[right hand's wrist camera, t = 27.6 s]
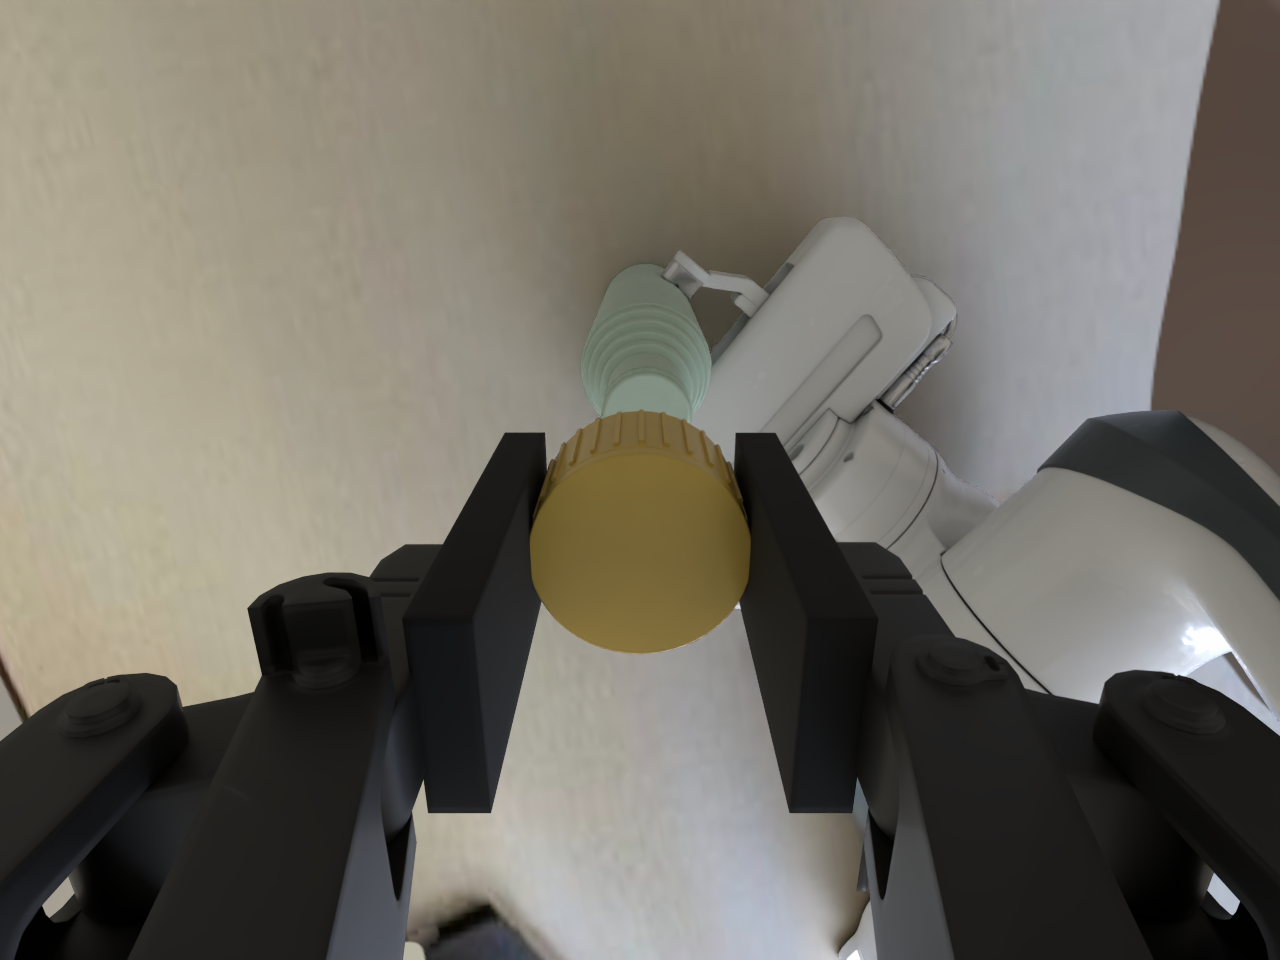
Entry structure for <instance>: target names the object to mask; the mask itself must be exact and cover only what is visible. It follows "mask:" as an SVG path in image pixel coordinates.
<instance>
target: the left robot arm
mask: <svg viewBox="0 0 1280 960" xmlns="http://www.w3.org/2000/svg"><path fill="white" fill-rule="evenodd" d="M661 274H662V276H663V277H664V278H665V279H666V280H668V281H669V282H670V283H672V284H674V285H678V287H679V289H680V290H681V291H682V293H683V294H685V295H686V296H687V297H688V298H691V297H692V296H693V295H694V294H695V292H696V291H697V290H698V289H699V288H700V286H702V287H708V288H714V289H721V290H727V291H733V293H732V294H731V295H730V299H731V300H732V301H733V302H734V304H735V305H737V306H738V307H739V308H740V309H741V310H742V311H744V312H743V314H742V315H741V316H740V317H739V318H738V320H737V321H736V322H735V323H734V324H733V326H732V327H731V328H730V329H729V331H728V332H727V333H726V334H725V335H724V337H723V338H722V339H721V340H720V341H719V343H718V344H717V345H716V346H715V347H714V349H713V350H712V351H711V352H710V355H711V363H712V370H711V379H710V383H709V386H708V389H707V393H706V395H705V397H704V400H703V401H702V403H701V405H700V406H699V408H698V409H697V410H696V412H695V413H694V414H693V417H692V423H691V425H693V426H694V427H696V428H697V429H699V430H700V431H701V430H704V431H705V433H706V436H707V437H709V438H710V440H711V441H712V442H713V443H714V444H715V445H717V444H718V445H719V446H720V447H721V451H722V454H723V456H724V458H725V460H726V461H727V462H728V461H730V463H731V465H732V468H733V471H734V455H735V434H736V433H776V435H777V436H778V438H779V440H780V442H781V444H782V445H783V447H784V449H785V451H786V453H787V454H788V456H789V458H790V460H791V462H792V463H793V465H794V467H795V469H796V471H797V472H798V474H799V476H800V478H801V479H802V481H803V483H804V485H805V487H806V488H807V490H808V492H809V494H810V496H811V497H812V499H813V501H814V503H815V505H816V506H817V508H818V510H819V512H820V514H821V515H822V517H823V519H824V521H825V523H826V524H827V526H828V528H829V530H830V532H831V533H832V535H833V537H834V539H835V541H836V542H876V543H878V544H879V545H881V546H882V547H884V548H885V549H887V550H889V551H890V552H892V553H893V554H895V555H896V556H898V557H900V559H901V560H902V562H903V563H904V564H905V566H906V567H907V569H908V570H909V572H910V573H911V574H912V579H915V580H916V581H917V583H918V584H919V586H920V587H921V589H922V590H923V595H926V596H927V597H928V598H929V600H930V601H931V603H932V604H933V606H934V607H935V608H936V610H937V611H938V613H939V614H940V615H941V617H942V618H943V620H944V621H945V623H946V624H947V625H948V627H949V628H950V630H951V631H952V633H953V634H954V635H955V637H958V638H963V639H967V640H969V641H972V642H974V643H977V644H980V645H982V646H985V647H987V648H989V649H991V650H992V651H994V652H995V653H997V654H998V655H1000V656H1001V657H1003V658H1004V659H1006V660H1007V661H1008V662H1009V664H1010V665H1011V666H1012V667H1013V669H1014V670H1015V671H1016V672H1017V674H1018V675H1019V677H1020V680H1021V682H1022V684H1023V686H1024V688H1026V689H1030V690H1034V691H1038V692H1042V693H1046V694H1051V695H1056V696H1061V697H1066V698H1071V699H1076V700H1081V701H1087V702H1092V703H1097V704H1099V701H1100V698H1101V694H1102V690H1103V687H1104V683H1105V682H1106V681H1107V680H1108V679H1109V678H1110V677H1112V676H1113V675H1114V674H1115V673H1119V672H1125V671H1130V670H1147V671H1162V672H1168V673H1173V674H1174V675H1176V676H1178V675H1181V676H1184V677H1185V676H1187V675H1188V674H1190V673H1191V672H1193V671H1194V670H1195V669H1197V668H1198V667H1200V666H1201V665H1203V664H1204V663H1206V662H1208V661H1210V660H1212V659H1214V658H1216V657H1218V656H1220V655H1222V654H1225V653H1228V652H1231V651H1232V653H1233V654H1234V656H1235V657H1236V659H1237V660H1238V662H1239V663H1240V665H1241V666H1242V668H1243V669H1244V671H1245V672H1246V674H1247V675H1248V677H1249V678H1250V680H1251V681H1252V683H1253V684H1254V686H1255V687H1256V689H1257V690H1258V692H1259V693H1260V695H1261V696H1262V698H1263V699H1264V701H1265V702H1266V704H1267V706H1268V707H1269V709H1270V710H1271V712H1272V713H1273V715H1274V716H1275V718H1276V719H1277V721H1278V722H1279V724H1280V477H1279V476H1278V475H1277V474H1276V473H1275V472H1274V471H1273V470H1272V469H1271V468H1270V466H1268V465H1267V464H1266V463H1265V462H1264V461H1263V460H1262V459H1261V458H1259V457H1258V456H1257V455H1256V454H1255V453H1254V452H1252V451H1251V450H1250V449H1249V448H1247V447H1246V446H1245V445H1243V444H1242V443H1240V442H1239V441H1238V440H1236V439H1235V438H1233V437H1231V436H1230V435H1228V434H1227V433H1225V432H1223V431H1222V430H1220V429H1218V428H1216V427H1214V426H1212V425H1210V424H1208V423H1206V422H1203V421H1200V420H1198V419H1195V418H1191V417H1188V416H1185V415H1183V414H1182V413H1181V412H1180V411H1140V412H1129V413H1121V414H1113V415H1106V416H1101V417H1095V418H1089V419H1087V420H1086V421H1085V422H1084V423H1083V424H1082V425H1081V426H1080V427H1079V428H1078V429H1077V430H1076V431H1075V432H1074V433H1073V434H1072V435H1071V436H1070V437H1069V438H1068V439H1067V440H1066V441H1065V442H1064V443H1063V444H1062V445H1061V446H1060V447H1059V448H1058V449H1057V450H1056V451H1055V452H1054V453H1053V454H1052V455H1051V456H1050V457H1049V458H1048V459H1047V460H1046V461H1045V462H1044V463H1043V464H1042V465H1041V466H1040V468H1039V469H1038V470H1037V474H1036V475H1035V476H1034V477H1032V478H1031V479H1030V480H1029V481H1028V482H1027V483H1026V484H1024V485H1023V486H1022V487H1021V488H1020V489H1019V490H1017V491H1016V492H1015V493H1014V494H1013V495H1012V496H1010V497H1009V498H1008V499H1007V500H1006V501H1005V502H1003V503H1002V504H999V503H998V502H997V501H996V500H995V499H994V498H992V497H991V496H990V495H989V494H988V493H986V492H985V491H983V490H982V489H980V488H978V487H976V486H974V485H971V484H969V483H966V482H964V481H962V480H960V479H958V478H957V477H956V476H955V475H953V474H952V473H951V471H950V470H949V469H948V467H947V466H946V464H945V462H944V461H943V459H942V457H941V456H940V455H939V453H938V452H937V451H936V450H935V449H934V448H933V447H932V446H931V445H929V444H928V443H927V442H926V441H925V440H924V439H922V438H921V437H920V436H919V435H918V434H916V433H915V432H914V431H913V430H912V429H910V428H909V427H908V426H907V425H906V424H905V423H903V422H902V421H901V420H900V419H898V418H897V417H896V416H895V415H894V414H893V411H894V410H895V409H896V408H897V407H898V406H899V405H900V403H901V402H902V401H903V400H904V399H905V398H906V397H907V396H908V395H909V394H910V393H911V391H912V390H913V389H914V388H915V387H916V386H917V383H919V382H920V379H922V377H923V376H924V375H925V374H926V373H927V371H928V370H929V369H930V368H931V367H932V366H933V365H934V364H935V365H936V364H937V363H938V362H940V361H941V360H942V359H943V357H944V356H945V355H946V354H947V353H948V351H949V350H950V348H951V346H952V345H953V343H952V342H951V341H950V338H951V337H952V335H953V333H954V331H955V328H956V325H957V310H956V307H955V304H954V302H953V301H952V299H951V298H950V297H949V296H948V295H947V294H946V293H945V292H944V291H943V290H942V289H941V288H939V287H938V286H937V285H936V284H935V283H934V282H933V281H932V280H930V279H929V278H927V277H925V276H922V275H917V274H909V273H908V272H907V271H906V269H905V268H904V267H903V266H902V264H901V263H900V262H899V261H898V259H897V258H896V257H895V256H894V255H893V253H892V252H891V251H890V250H889V249H888V248H887V247H886V246H885V244H884V243H883V242H882V241H881V240H880V239H879V238H878V237H877V236H876V235H875V234H874V233H873V232H872V231H871V230H870V229H869V228H868V227H867V226H866V225H865V224H864V223H862V222H861V221H859V220H858V219H855V218H853V217H847V216H839V217H830V218H824V219H822V220H820V221H819V222H818V223H817V224H816V225H815V226H814V227H813V229H812V230H811V231H810V232H809V234H808V235H807V236H806V237H805V238H804V240H803V241H802V242H801V243H800V244H799V246H798V247H797V248H796V249H795V251H794V252H793V253H792V254H791V255H790V257H789V258H788V259H787V260H786V261H785V263H784V264H783V265H782V266H781V267H780V269H779V270H778V271H777V272H776V274H775V275H774V276H773V277H772V278H771V280H770V281H769V282H768V283H767V284H766V286H765V287H764V288H763V289H762V288H761V287H760V286H759V285H757V284H756V283H755V282H754V281H753V280H751V279H750V278H749V277H747V276H746V275H740V274H733V273H726V272H720V271H713V270H708V271H707V272H706V271H705V270H704V269H703V268H702V267H700V266H699V265H698V264H697V263H696V262H694V261H693V260H692V259H691V258H690V257H688V256H687V255H686V254H685V253H684V252H682V251H681V250H680V249H679V251H678V252H677V253H676V255H675V256H674V257H673V258H672V260H671V261H670V262H669V264H668V265H667V266H666V268H665V269H664V271H663V272H662V273H661ZM947 324H948V325H947ZM946 326H947V328H946V331H945V332H944V334H941V333H940V332H941V331H942V330H943V329H944V328H945V327H946ZM876 397H877V398H878V399H875V398H876ZM735 609H741V608H740V603H739V602H738V604H737V605H736V607H735ZM838 958H839V960H877V952H876V944H875V935H874V927H873V918H872V909H871V901H869V903H868V904H867V906H866V908H865V910H864V912H863V915H862V918H861V921H860V924H859V927H858V929H857V931H856V933H855V934H854V935H853V936H852V937H851V938H850V939H849V940H848V941H847V942H846V944H845V945H844V946H843V947H842V948H841V950H840V952H839V954H838Z"/></svg>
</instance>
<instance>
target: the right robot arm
mask: <svg viewBox="0 0 1280 960" xmlns="http://www.w3.org/2000/svg"><path fill="white" fill-rule="evenodd" d="M546 473H547V465H546V445H545V433H505V434H504V435H503V437H502V439H501V441H500V443H499V444H498V446H497V448H496V450H495V452H494V453H493V455H492V457H491V459H490V461H489V462H488V464H487V466H486V468H485V470H484V471H483V473H482V475H481V477H480V479H479V480H478V482H477V484H476V486H475V488H474V489H473V491H472V493H471V495H470V497H469V498H468V500H467V502H466V504H465V506H464V507H463V509H462V511H461V513H460V515H459V516H458V518H457V520H456V522H455V524H454V525H453V527H452V529H451V531H450V533H449V534H448V536H447V538H446V540H445V542H444V543H443V544H405V545H404V546H402V547H401V548H399V549H398V550H396V551H395V552H393V553H391V554H390V555H388V556H387V557H385V558H384V559H382V560H381V561H380V562H379V564H378V565H377V567H376V568H375V570H374V571H373V573H372V574H371V575H370V577H366V576H362V575H358V574H354V573H322V574H316V575H310V576H304V577H301V578H298V579H295V580H292V581H289V582H286V583H283V584H280V585H278V586H276V587H274V588H272V589H271V590H269V591H267V592H265V593H263V594H262V595H260V596H259V597H258V598H257V599H256V600H255V601H254V602H253V603H252V604H251V605H250V606H249V607H248V608H247V609H248V613H249V618H250V623H251V627H252V632H253V636H254V641H255V645H256V650H257V654H258V659H259V663H260V668H261V672H262V677H261V679H260V681H259V683H258V685H257V687H256V689H255V691H254V692H252V693H248V694H244V695H240V696H236V697H231V698H226V699H221V700H216V701H211V702H206V703H201V704H196V705H191V706H185V707H182V703H181V699H180V696H179V692H178V688H177V685H175V684H174V683H173V682H172V681H171V680H169V679H168V678H167V677H166V676H160V675H155V674H149V673H139V674H127V675H116V676H111V677H107V679H104V678H102V679H99V680H96V681H92V682H89V683H87V684H86V685H84V686H82V687H80V688H78V689H75V690H73V691H71V692H68V693H66V694H64V695H62V696H60V697H59V698H57V699H56V700H54V701H53V702H51V703H50V704H48V705H46V706H45V707H43V708H42V709H40V710H39V711H37V712H36V713H35V714H34V715H32V716H31V717H30V718H29V719H27V720H26V721H25V722H24V723H23V724H21V725H20V726H19V727H18V728H16V729H15V730H14V731H13V732H11V733H10V734H9V735H8V736H6V737H5V738H4V739H3V740H1V741H0V960H403V954H404V946H405V937H406V928H407V920H408V911H409V902H410V894H411V885H412V877H413V868H414V859H415V851H416V836H415V829H414V822H413V815H412V809H413V806H414V804H415V801H416V798H417V796H418V793H419V790H420V787H421V785H422V782H423V779H424V786H425V793H426V800H427V808H428V813H491V810H492V806H493V802H494V798H495V794H496V789H497V785H498V781H499V777H500V773H501V769H502V764H503V760H504V756H505V752H506V748H507V743H508V739H509V735H510V731H511V727H512V723H513V718H514V714H515V710H516V706H517V702H518V697H519V693H520V689H521V685H522V681H523V676H524V672H525V668H526V664H527V660H528V656H529V651H530V647H531V643H532V639H533V635H534V630H535V626H536V622H537V618H538V614H539V610H540V605H541V599H540V598H539V596H538V594H537V592H536V589H535V587H534V585H533V581H532V573H531V557H530V531H531V528H532V524H533V514H534V511H535V508H536V505H537V502H538V497H539V494H540V491H541V488H542V485H543V482H544V479H545V476H546ZM734 474H735V477H736V480H737V483H738V486H739V489H740V492H741V495H742V498H743V502H742V503H743V506H744V509H745V512H746V515H747V518H748V526H749V529H750V533H751V548H750V565H749V579H748V583H747V586H746V588H745V591H744V593H743V595H742V597H741V598H740V600H739V603H740V608H741V612H742V616H743V620H744V624H745V628H746V633H747V637H748V641H749V645H750V649H751V654H752V658H753V662H754V666H755V670H756V674H757V679H758V683H759V687H760V691H761V695H762V700H763V704H764V708H765V712H766V716H767V720H768V725H769V729H770V733H771V737H772V741H773V746H774V750H775V754H776V758H777V762H778V766H779V771H780V775H781V779H782V783H783V787H784V792H785V796H786V800H787V804H788V808H789V812H790V813H852V811H853V804H854V797H855V789H856V782H857V777H858V780H859V782H860V785H861V788H862V790H863V793H864V796H865V798H866V801H867V804H868V807H869V808H868V815H867V822H866V829H865V836H864V843H863V850H862V857H861V864H860V871H859V877H858V884H857V891H861V892H867V886H868V884H869V892H870V901H871V909H872V918H873V927H874V935H875V944H876V952H877V960H1280V736H1279V735H1278V734H1277V733H1275V732H1274V731H1273V730H1272V729H1270V728H1269V727H1268V726H1267V725H1265V724H1264V723H1263V722H1262V721H1260V720H1259V719H1258V718H1256V717H1255V716H1254V715H1253V714H1251V713H1250V712H1249V711H1248V710H1246V709H1245V708H1244V707H1243V706H1241V705H1239V704H1238V703H1236V702H1235V701H1233V700H1232V699H1230V698H1228V697H1227V696H1225V695H1224V694H1222V693H1221V692H1219V691H1217V690H1215V689H1212V688H1210V687H1207V686H1205V685H1203V684H1200V683H1198V682H1197V681H1195V680H1193V679H1191V678H1188V677H1184V676H1181V675H1178V676H1176V675H1174V674H1173V673H1168V672H1162V671H1147V670H1130V671H1125V672H1119V673H1115V674H1114V675H1113V676H1112V677H1110V678H1109V679H1108V680H1107V681H1106V682H1105V683H1104V687H1103V690H1102V694H1101V698H1100V701H1099V704H1097V703H1092V702H1087V701H1081V700H1076V699H1071V698H1066V697H1061V696H1056V695H1051V694H1046V693H1042V692H1038V691H1034V690H1030V689H1026V688H1024V686H1023V684H1022V682H1021V680H1020V677H1019V675H1018V674H1017V672H1016V671H1015V670H1014V669H1013V667H1012V666H1011V665H1010V664H1009V662H1008V661H1007V660H1006V659H1004V658H1003V657H1001V656H1000V655H998V654H997V653H995V652H994V651H992V650H991V649H989V648H987V647H985V646H982V645H980V644H977V643H974V642H972V641H969V640H967V639H963V638H958V637H955V635H954V634H953V633H952V631H951V630H950V628H949V627H948V625H947V624H946V623H945V621H944V620H943V618H942V617H941V615H940V614H939V613H938V611H937V610H936V608H935V607H934V606H933V604H932V603H931V601H930V600H929V598H928V597H927V596H926V595H923V590H922V589H921V587H920V586H919V584H918V583H917V581H916V580H915V579H912V574H911V573H910V572H909V570H908V569H907V567H906V566H905V564H904V563H903V562H902V560H901V559H900V557H898V556H896V555H895V554H893V553H892V552H890V551H889V550H887V549H885V548H884V547H882V546H881V545H879V544H878V543H876V542H836V541H835V539H834V537H833V535H832V533H831V532H830V530H829V528H828V526H827V524H826V523H825V521H824V519H823V517H822V515H821V514H820V512H819V510H818V508H817V506H816V505H815V503H814V501H813V499H812V497H811V496H810V494H809V492H808V490H807V488H806V487H805V485H804V483H803V481H802V479H801V478H800V476H799V474H798V472H797V471H796V469H795V467H794V465H793V463H792V462H791V460H790V458H789V456H788V454H787V453H786V451H785V449H784V447H783V445H782V444H781V442H780V440H779V438H778V436H777V435H776V433H736V434H735V455H734ZM1213 873H1215V874H1216V875H1217V876H1218V877H1219V878H1220V879H1221V881H1222V882H1223V883H1224V884H1225V885H1226V886H1227V887H1228V888H1229V889H1230V890H1231V892H1232V893H1233V894H1234V895H1235V896H1236V897H1237V898H1238V899H1239V900H1240V903H1239V906H1238V908H1237V911H1236V912H1235V914H1234V915H1231V914H1230V913H1228V912H1227V911H1226V910H1225V909H1224V908H1223V907H1222V906H1221V905H1219V903H1218V902H1217V901H1216V900H1215V899H1214V898H1213V897H1212V895H1211V894H1210V893H1209V892H1208V891H1207V889H1208V886H1209V884H1210V881H1211V879H1212V876H1213ZM67 877H69V879H70V882H71V885H72V887H73V890H74V892H75V893H74V895H73V896H72V897H71V898H70V899H69V900H68V901H67V903H66V904H65V905H64V906H63V907H62V908H61V909H60V910H59V911H57V912H56V913H55V914H54V915H53V916H51V917H50V918H49V917H48V916H47V915H46V914H45V912H44V909H43V907H42V905H43V903H44V902H45V901H46V900H47V899H48V898H49V897H50V896H51V895H52V893H53V892H54V891H55V890H56V889H57V888H58V887H59V886H60V885H61V883H62V882H63V881H64V880H65V879H66V878H67Z"/></svg>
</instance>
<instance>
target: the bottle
mask: <svg viewBox="0 0 1280 960" xmlns="http://www.w3.org/2000/svg"><path fill="white" fill-rule="evenodd" d="M663 271H664V268H662V267H660V266H657V265H653V264H637V265H634V266H630V267H628V268H626V269H624V270H623V271H621V272H620V273H619V274H618V275H616V277H615V278H614V279H613V280H612V281H611V283H610V284H609V286H608V288H607V291H606V293H605V296H604V298H603V301H602V303H601V305H600V308H599V310H598V313H597V315H596V318H595V320H594V323H593V325H592V328H591V330H590V333H589V335H588V337H587V340H586V343H585V345H584V348H583V352H582V356H581V378H582V383H583V386H584V389H585V392H586V395H587V397H588V399H589V401H590V403H591V405H592V406H593V408H594V409H595V410H596V412H597V413H598V414H599V415H600V416H601V419H602V418H605V417H607V416H610V415H614V414H617V412H620V411H621V412H622V413H623V412H632V411H639V410H640V409H642V410H644V411H651V412H657V413H661V412H665V413H666V414H667V415H670V416H673V417H676V418H679V419H681V420H682V419H685V420H687V422H688V423H689V424H691V423H692V417H693V414H694V413H695V412H696V410H697V409H698V408H699V406H700V405H701V403H702V401H703V400H704V397H705V395H706V393H707V389H708V386H709V383H710V379H711V370H712V363H711V355H710V351H709V347H708V344H707V342H706V340H705V337H704V335H703V333H702V330H701V328H700V326H699V324H698V321H697V319H696V317H695V314H694V312H693V310H692V308H691V305H690V303H689V301H688V299H687V296H686V295H685V294H683V293H682V291H681V290H680V289H679V287H678V285H674V284H672V283H670V282H669V281H668V280H666V279H665V278H664V277H663V276H662V274H661V273H662V272H663Z"/></svg>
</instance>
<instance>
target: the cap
mask: <svg viewBox="0 0 1280 960" xmlns="http://www.w3.org/2000/svg"><path fill="white" fill-rule="evenodd" d="M742 502H743V498H742V495H741V492H740V489H739V486H738V483H737V480H736V477H735V474H734V471H733V468H732V465H731V463H730V461H728V462H727V461H726V460H725V458H724V456H723V454H722V451H721V447H720V446H719V445H718V444H717V445H715V444H714V443H713V442H712V441H711V440H710V438H709V437H707V436H706V433H705V431H704V430H701V431H700V430H699V429H697V428H696V427H694V426H693V425H691V424H689V423H688V422H687V420H685V419H682V420H681V419H679V418H676V417H673V416H670V415H667V414H666V413H665V412H661V413H657V412H651V411H644V410H642V409H640V410H639V411H632V412H623V413H622V412H621V411H620V412H617V414H614V415H610V416H607V417H605V418H602V419H600V418H597V419H596V421H595V422H593V423H591V424H589V425H588V426H586V427H585V428H583V429H581V428H580V429H578V430H577V432H576V434H575V435H574V436H573V437H572V438H571V439H570V440H569V441H568V442H567V443H565V442H564V443H563V444H562V445H561V448H560V452H559V454H558V455H557V457H556V458H555V460H553V459H552V460H551V461H550V464H549V467H548V470H547V473H546V476H545V479H544V482H543V485H542V488H541V491H540V494H539V497H538V502H537V505H536V508H535V511H534V514H533V524H532V528H531V531H530V557H531V573H532V581H533V585H534V587H535V589H536V592H537V594H538V596H539V598H540V599H541V601H542V603H543V604H544V606H545V607H546V609H547V610H548V611H549V612H550V614H551V615H552V616H553V617H554V618H555V619H556V620H557V621H558V622H559V623H560V624H561V625H562V626H563V627H564V628H566V629H567V630H568V631H570V632H571V633H573V634H574V635H575V636H577V637H579V638H581V639H583V640H584V641H586V642H588V643H590V644H593V645H596V646H598V647H601V648H604V649H608V650H611V651H615V652H622V653H629V654H649V653H659V652H664V651H670V650H673V649H676V648H680V647H683V646H685V645H687V644H690V643H692V642H694V641H696V640H698V639H700V638H702V637H703V636H705V635H707V634H708V633H709V632H711V631H712V630H713V629H715V628H716V627H717V626H719V625H720V624H721V623H722V622H723V621H724V620H725V619H726V618H727V617H728V616H729V614H730V613H731V612H732V610H733V609H734V608H735V607H736V605H737V604H738V602H739V600H740V598H741V597H742V595H743V593H744V591H745V588H746V586H747V583H748V579H749V565H750V548H751V533H750V529H749V526H748V518H747V515H746V512H745V509H744V506H743V503H742Z"/></svg>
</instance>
